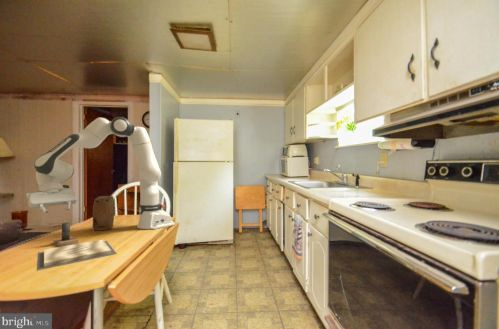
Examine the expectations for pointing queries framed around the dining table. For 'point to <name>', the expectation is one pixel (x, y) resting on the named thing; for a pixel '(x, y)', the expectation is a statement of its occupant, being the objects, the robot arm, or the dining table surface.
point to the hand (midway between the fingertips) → (57, 210)
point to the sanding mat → (41, 262)
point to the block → (103, 213)
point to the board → (75, 252)
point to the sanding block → (65, 237)
